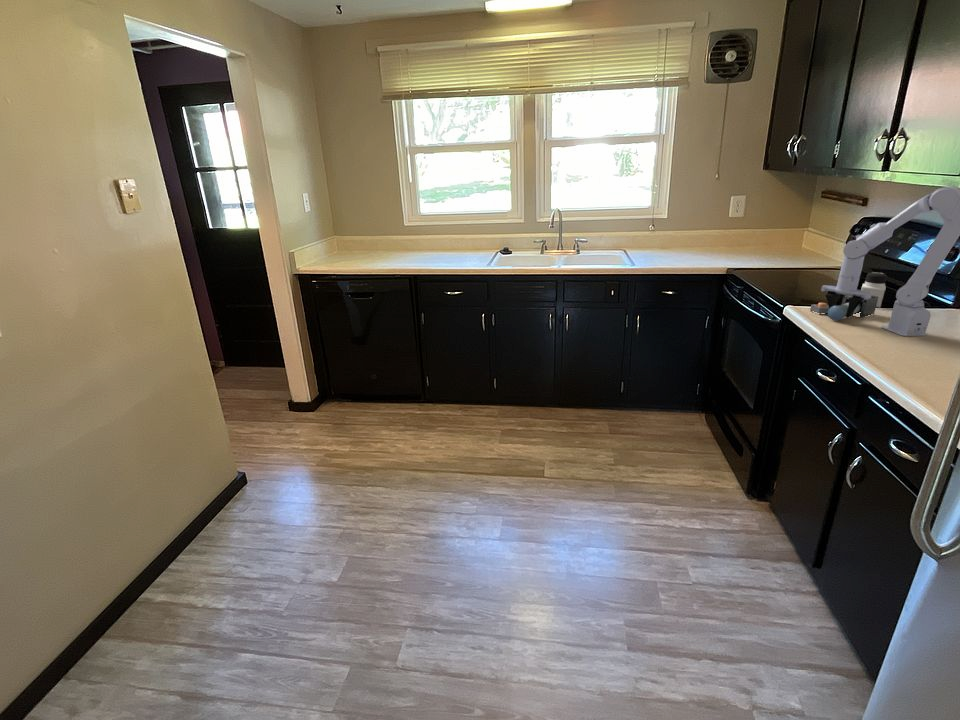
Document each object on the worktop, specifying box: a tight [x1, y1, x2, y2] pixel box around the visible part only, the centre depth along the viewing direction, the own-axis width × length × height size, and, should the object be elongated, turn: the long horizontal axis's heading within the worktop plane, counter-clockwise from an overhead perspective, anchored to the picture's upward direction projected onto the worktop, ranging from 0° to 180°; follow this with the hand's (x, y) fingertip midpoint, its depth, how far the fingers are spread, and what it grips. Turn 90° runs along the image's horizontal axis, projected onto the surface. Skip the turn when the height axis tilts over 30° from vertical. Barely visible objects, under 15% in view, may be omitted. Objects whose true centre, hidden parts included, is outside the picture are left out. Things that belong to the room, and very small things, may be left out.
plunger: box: [818, 302, 828, 307], centre depth 185 cm, size 3×3×3 cm
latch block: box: [809, 304, 829, 313], centre depth 185 cm, size 5×5×2 cm
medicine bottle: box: [860, 272, 888, 309], centre depth 192 cm, size 7×7×12 cm
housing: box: [841, 295, 879, 318], centre depth 182 cm, size 9×7×6 cm
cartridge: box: [827, 302, 863, 321], centre depth 178 cm, size 15×5×5 cm, turn 122°
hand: (839, 315), depth 176 cm, fingers open, 5 cm apart
